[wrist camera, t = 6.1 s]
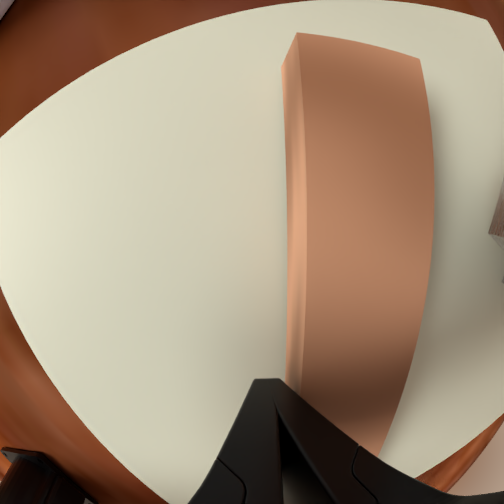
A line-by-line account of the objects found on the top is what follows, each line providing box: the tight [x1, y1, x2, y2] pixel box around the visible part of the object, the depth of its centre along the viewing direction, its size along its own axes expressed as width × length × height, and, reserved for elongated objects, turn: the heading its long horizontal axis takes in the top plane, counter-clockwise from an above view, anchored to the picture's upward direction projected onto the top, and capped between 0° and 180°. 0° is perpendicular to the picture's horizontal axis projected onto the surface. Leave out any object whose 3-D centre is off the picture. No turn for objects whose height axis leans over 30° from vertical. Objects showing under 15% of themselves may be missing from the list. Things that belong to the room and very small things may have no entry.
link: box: [281, 32, 434, 457], centre depth 8 cm, size 22×4×2 cm, turn 2°
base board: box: [0, 0, 504, 504], centre depth 10 cm, size 25×26×1 cm
